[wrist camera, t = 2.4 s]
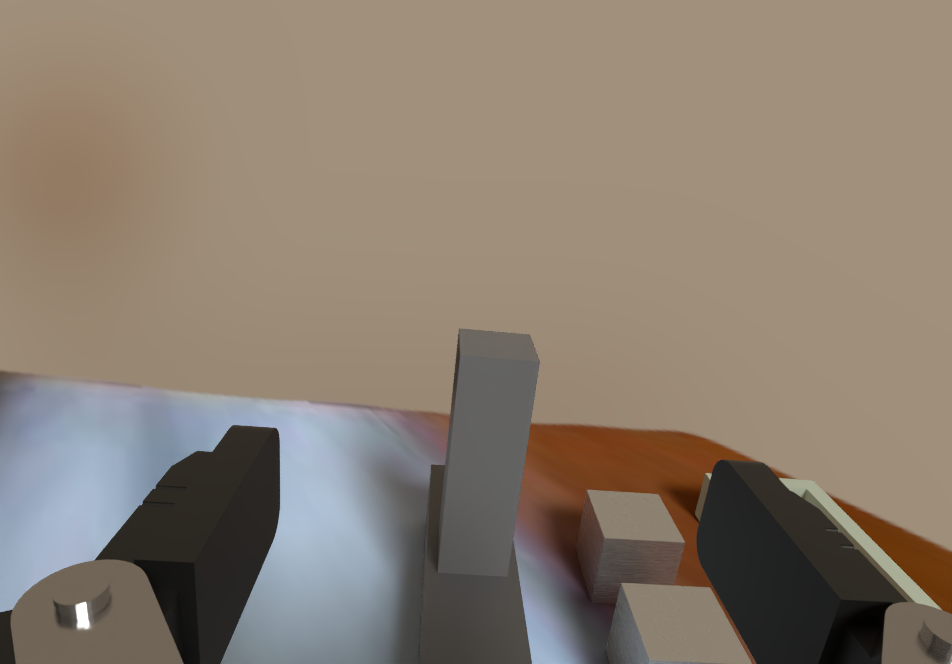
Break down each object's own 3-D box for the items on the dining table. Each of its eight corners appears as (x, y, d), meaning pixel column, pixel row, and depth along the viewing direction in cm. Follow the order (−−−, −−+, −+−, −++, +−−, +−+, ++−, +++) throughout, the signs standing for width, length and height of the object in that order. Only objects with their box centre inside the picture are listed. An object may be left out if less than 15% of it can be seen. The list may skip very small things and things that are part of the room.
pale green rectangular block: (904, 855, 21) (935, 794, 20) (694, 513, 39) (705, 473, 38) (1093, 859, 21) (1132, 800, 20) (799, 520, 39) (813, 480, 38)
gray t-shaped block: (411, 769, 22) (446, 424, 17) (425, 524, 35) (447, 291, 31) (520, 772, 22) (583, 434, 18) (494, 528, 36) (526, 298, 31)
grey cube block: (590, 603, 31) (604, 537, 29) (575, 550, 34) (586, 489, 33) (668, 607, 31) (685, 542, 30) (644, 553, 35) (658, 494, 33)
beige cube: (629, 737, 24) (649, 660, 23) (605, 653, 28) (621, 582, 26) (727, 741, 24) (752, 664, 23) (689, 657, 28) (710, 587, 27)
